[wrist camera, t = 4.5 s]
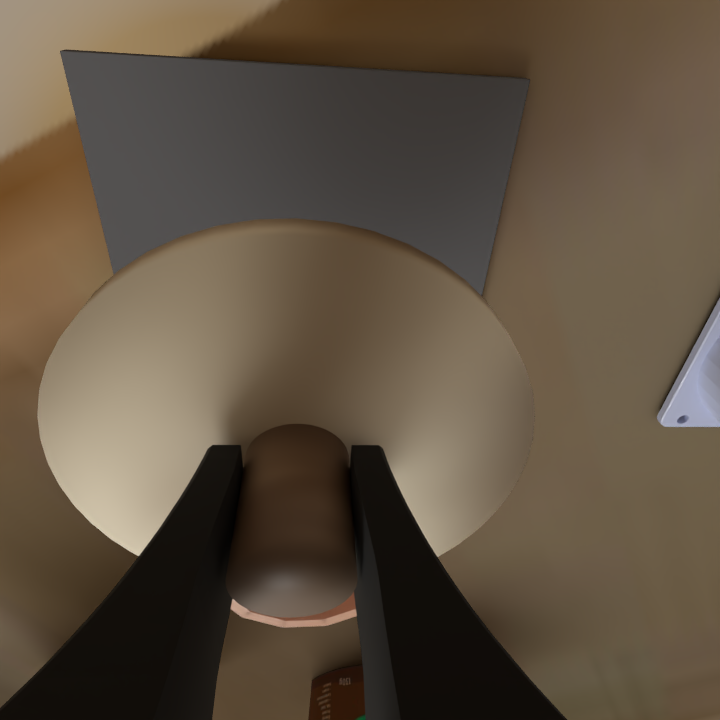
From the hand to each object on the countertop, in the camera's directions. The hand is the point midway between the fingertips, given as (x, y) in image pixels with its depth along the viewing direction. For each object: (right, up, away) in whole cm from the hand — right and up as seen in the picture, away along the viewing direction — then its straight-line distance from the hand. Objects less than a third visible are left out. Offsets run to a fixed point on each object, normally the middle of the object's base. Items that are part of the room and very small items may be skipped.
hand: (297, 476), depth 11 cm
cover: (0, +1, +1) cm, 1 cm away
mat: (-1, +6, +7) cm, 9 cm away
